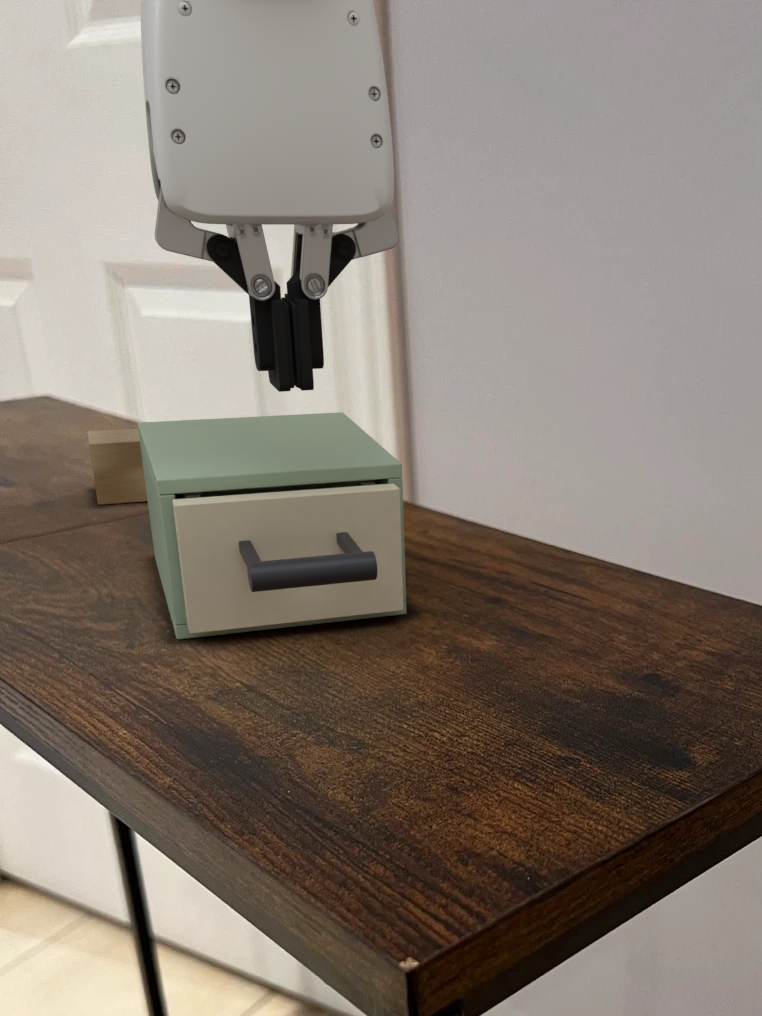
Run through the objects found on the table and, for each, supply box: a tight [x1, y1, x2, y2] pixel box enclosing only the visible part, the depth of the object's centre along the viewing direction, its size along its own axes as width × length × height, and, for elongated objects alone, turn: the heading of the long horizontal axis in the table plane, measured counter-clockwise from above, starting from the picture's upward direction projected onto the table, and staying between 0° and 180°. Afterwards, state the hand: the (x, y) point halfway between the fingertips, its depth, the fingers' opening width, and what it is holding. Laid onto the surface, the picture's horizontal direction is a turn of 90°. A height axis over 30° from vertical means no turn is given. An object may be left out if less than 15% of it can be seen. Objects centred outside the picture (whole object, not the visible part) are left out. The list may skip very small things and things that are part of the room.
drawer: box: [172, 480, 404, 634], centre depth 63 cm, size 19×11×7 cm, turn 21°
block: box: [86, 428, 148, 506], centre depth 86 cm, size 4×4×4 cm
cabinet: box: [137, 412, 408, 640], centre depth 67 cm, size 15×13×9 cm
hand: (291, 385), depth 54 cm, fingers closed
